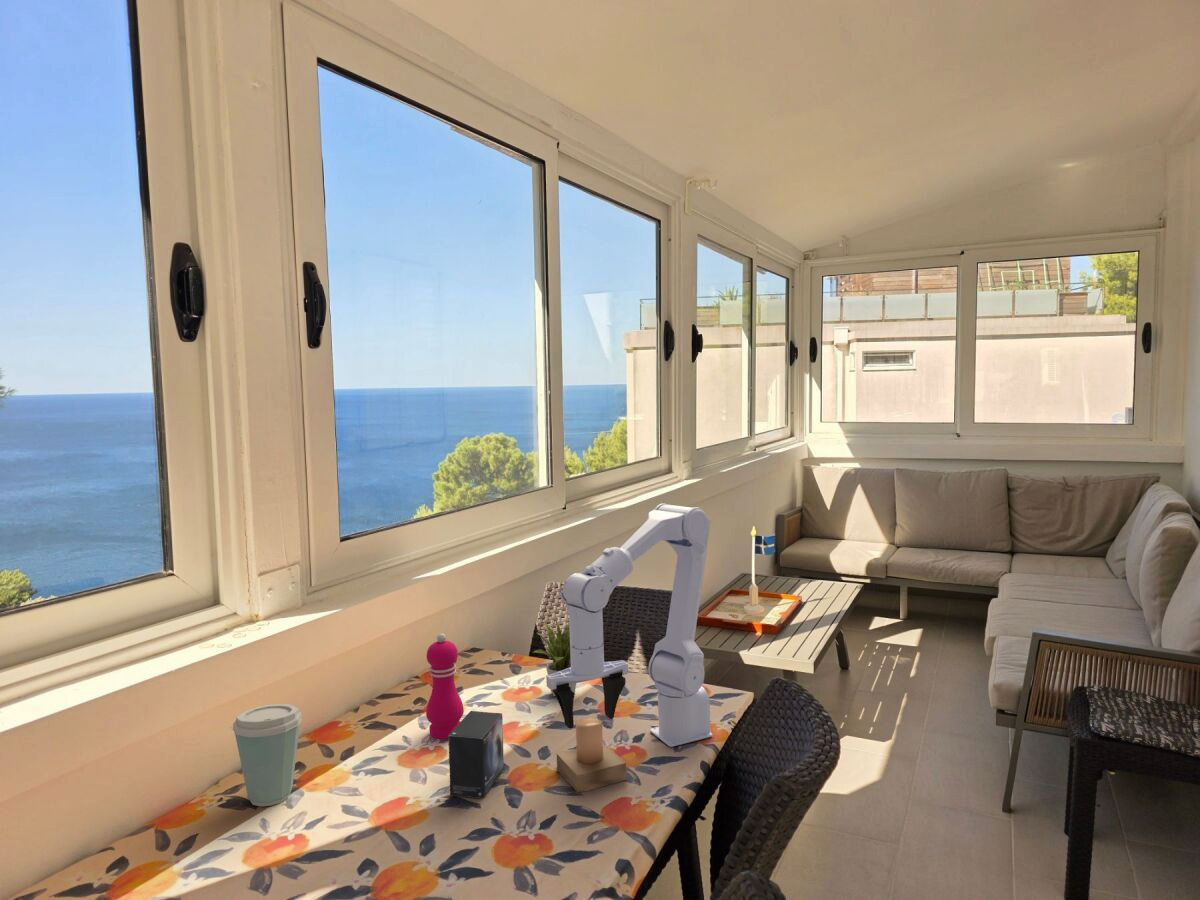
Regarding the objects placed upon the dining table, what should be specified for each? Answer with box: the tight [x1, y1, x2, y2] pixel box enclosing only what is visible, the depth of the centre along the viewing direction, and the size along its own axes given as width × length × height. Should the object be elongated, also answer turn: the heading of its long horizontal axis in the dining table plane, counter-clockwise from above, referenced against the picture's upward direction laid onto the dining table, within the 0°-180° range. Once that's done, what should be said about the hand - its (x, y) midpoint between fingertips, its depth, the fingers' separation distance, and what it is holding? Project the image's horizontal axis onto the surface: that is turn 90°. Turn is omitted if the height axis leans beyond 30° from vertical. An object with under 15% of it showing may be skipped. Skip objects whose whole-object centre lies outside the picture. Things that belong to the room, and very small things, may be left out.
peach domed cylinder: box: [575, 717, 604, 764], centre depth 136 cm, size 5×5×6 cm
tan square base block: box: [556, 742, 627, 794], centre depth 136 cm, size 9×9×3 cm
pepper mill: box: [425, 633, 465, 741], centre depth 154 cm, size 7×7×20 cm
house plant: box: [533, 620, 577, 697], centre depth 171 cm, size 14×14×16 cm
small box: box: [448, 710, 505, 799], centre depth 134 cm, size 11×6×10 cm, turn 168°
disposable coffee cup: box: [232, 703, 303, 807], centre depth 131 cm, size 11×11×15 cm
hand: (589, 721), depth 136 cm, fingers open, 7 cm apart
